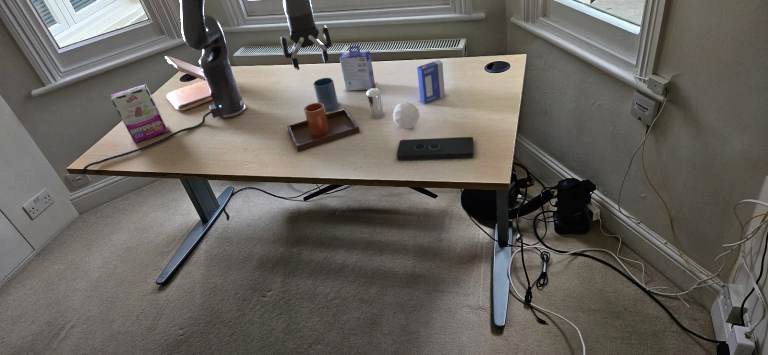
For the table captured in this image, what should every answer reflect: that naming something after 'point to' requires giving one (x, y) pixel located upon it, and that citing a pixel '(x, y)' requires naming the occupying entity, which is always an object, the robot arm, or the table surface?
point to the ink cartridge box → (357, 70)
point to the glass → (326, 93)
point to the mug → (316, 119)
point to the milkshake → (375, 101)
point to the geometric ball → (406, 115)
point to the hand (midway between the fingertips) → (311, 65)
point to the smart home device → (435, 148)
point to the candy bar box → (139, 113)
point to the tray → (338, 129)
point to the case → (189, 87)
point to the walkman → (431, 81)
